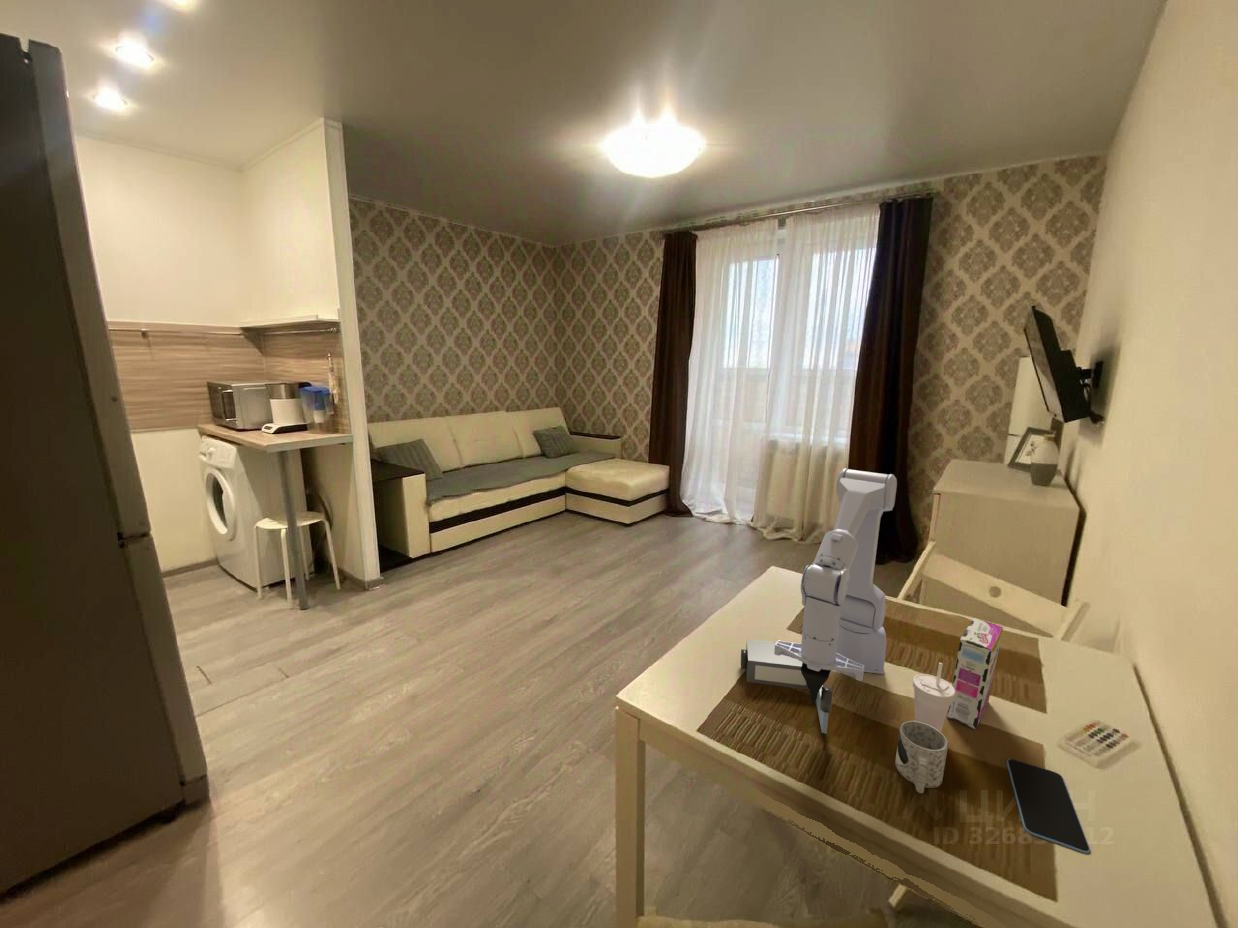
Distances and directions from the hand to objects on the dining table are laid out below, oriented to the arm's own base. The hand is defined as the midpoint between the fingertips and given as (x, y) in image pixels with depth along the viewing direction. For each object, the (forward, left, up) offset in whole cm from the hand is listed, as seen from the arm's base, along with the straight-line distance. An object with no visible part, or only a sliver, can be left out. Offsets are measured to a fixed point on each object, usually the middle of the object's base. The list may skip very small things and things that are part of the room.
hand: (814, 700), depth 89 cm
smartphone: (-32, +9, -6) cm, 34 cm away
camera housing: (+4, -15, -6) cm, 17 cm away
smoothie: (-20, -3, -6) cm, 21 cm away
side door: (-2, -5, -6) cm, 8 cm away
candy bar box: (-30, -11, -6) cm, 33 cm away
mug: (-15, +8, -6) cm, 18 cm away
